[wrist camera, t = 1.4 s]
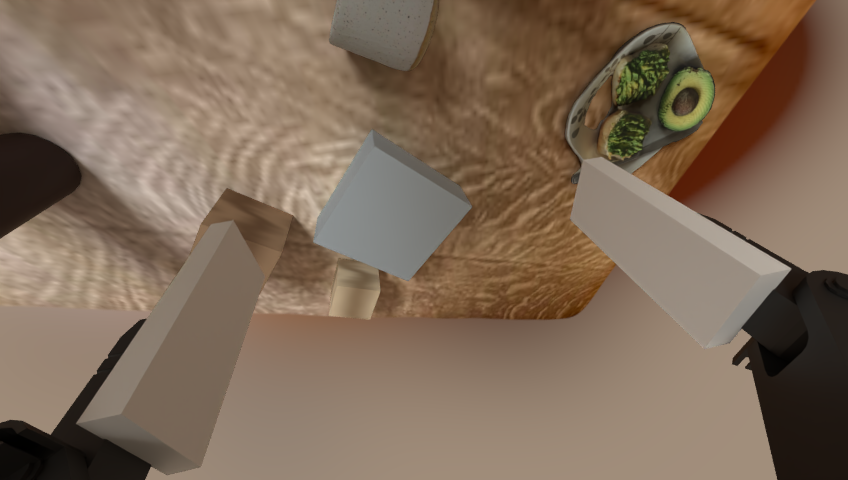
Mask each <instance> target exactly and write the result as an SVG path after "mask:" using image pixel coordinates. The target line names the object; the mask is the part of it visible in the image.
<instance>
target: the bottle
mask: <svg viewBox="0 0 848 480" xmlns="http://www.w3.org/2000/svg"><path fill="white" fill-rule="evenodd" d="M80 181H81V174H80V171H79V168H78V166H77V165H76V163H75V162H74V160H73V159H72V158H71V157H70V156H69V155H68V154H67V153H66V152H64V151H63V150H62V149H61V148H59V147H58V146H56V145H54V144H53V143H51V142H49V141H47V140H45V139H42V138H39V137H37V136H34V135H29V134H23V133H10V134H3V135H0V238H2V237H3V236H5V235H7V234H8V233H10V232H11V231H13V230H14V229H16V228H17V227H19V226H21V225H22V224H24V223H25V222H27V221H28V220H30V219H31V218H33V217H35V216H36V215H38V214H39V213H41V212H42V211H44V210H46V209H47V208H49V207H50V206H52V205H53V204H55V203H56V202H58V201H60V200H61V199H63V198H64V197H66V196H67V195H69V194H70V193H72V192H74V191H75V190H76V188H77V187H78V186H79V185H80Z"/></svg>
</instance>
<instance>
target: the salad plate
mask: <svg viewBox="0 0 848 480" xmlns="http://www.w3.org/2000/svg"><path fill="white" fill-rule="evenodd" d="M611 75H613V79H612V82H611V85H612V107H611V108H610V110H609V112H608V114H607V116H606V118H605V119H604V120H601V122H600V123H599V126H598V127H597V129H595V130H593V129H590V128H588V127H587V126H585V125H584V123H585V116H586V113H587V110H588V108H589V105H590V102H591V101H592V99H593V97H594V96H595V94H596V92H597V91H598V89H599V88H600V87H601V86H602V85H603V83H604V82H605V81H606V80H607V79H608V78H609V77H610V76H611ZM714 96H715V84H714V80H713V78H712V76H711V73H710V72H709V71H708V70H704V68H703V66H702V64H701V61H700V59H699V56H698V54H697V53H696V49H695V47H694V45H693V42H692V40H691V37H690V35H689V34H688V32H687V31H686V28H685V27H684V26H683V25H682V24H679V23H675V22H671V23H663V24H658V25H655V26H652V27H649V28H647V29H645V30H643V31H641V32H640V33H639V34H637V35H636V36H634V37H633V38H631V39H630V40H629V41H627V42H626V43H625V44H624V45H623V46H622V47H620V49H619V50H618V51H617V52H616V53H615V55H614V57H613V58H612V59H611V61H610V62H609V63H608V64H607V65H606V66H605V67H604V68H603V69H602V70H601V71H600V72H599V73H598V74H597V75H596V76H595V77H594V78H593V80H592V81H591V82H590V83H589V85H588V86H587V87H586V89H585V90H584V92H583V93H582V94H581V95H580V97H579V98H578V99H577V100H576V101H575V102H574V104H573V106H572V109H571V111H570V113H569V115H568V119H567V123H566V130H565V138H566V140H567V142H568V144H569V145H570V146H571V148H572V150H573V151H574V153H575V154H576V155H577V156H578V157H579V159H580V161H581V168H582V163H583V160H586V159H592V158H598V157H603V158H604V159H606V160H608V161H610V162H611V163H613V164H615V165H616V166H618V167H620V168H621V169H623V170H625V171H627V172H628V173H630V174H631V173H633V172H634V171H635V170H636V169H638V168H639V167H640V166H642V165H643V164H644V163H645V162H646V161H647V160H649V159H650V158H651V157H652V156H653V155H654V154H656V153H657V152H658V151H659V150H660V149H661V148H662V147H663V146H666V145H668V144H670V143H671V142H676V141H679V140H681V139H683V138H685V137H687V136H689V135H690V134H692V133H694V132H695V131H697V130H698V128H699V127H700V125H701V124H702V123H703V121H702V120H703V119H704V118H705V116H706V115H707V114H708V112H709V111H710V109H711V107H712V104H713V101H714ZM581 168H580V169H579V170H578V171H577V172H576V173H574V174H573V176H572V178H571V182H572V183H573V184H577V183H578V181H579V177H580V172H581Z"/></svg>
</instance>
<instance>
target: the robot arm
mask: <svg viewBox="0 0 848 480" xmlns="http://www.w3.org/2000/svg"><path fill="white" fill-rule="evenodd" d="M570 220H571V221H572V222H573V223H574V224H575V225H576V226H577V227H578V228H579V229H580V230H582V231H583V232H584V233H585V234H586V235H587V236H588V237H589V238H590V239H591V240H592V241H593V242H594V243H595V244H596V245H597V246H598V247H599V248H600V249H601V250H602V251H603V252H604V253H605V254H606V255H607V256H608V257H609V258H611V259H612V260H613V261H614V262H615V263H616V264H617V265H618V266H619V267H620V268H621V269H622V270H623V271H624V272H625V273H626V274H627V275H628V276H629V277H630V278H631V279H632V280H633V281H634V282H635V283H636V284H637V285H639V287H641V288H642V289H643V290H644V291H645V292H646V293H647V294H648V295H649V296H650V297H651V298H652V299H653V300H654V301H655V302H656V303H657V304H658V305H659V306H660V307H661V308H662V309H663V310H664V311H665V312H667V313H668V315H670V316H671V317H672V318H673V319H674V320H675V321H676V322H677V323H678V324H679V325H680V326H681V327H682V328H683V329H684V330H685V331H686V332H687V333H688V334H689V335H690V336H691V337H692V338H694V340H696V342H697V343H699V344H700V345H701V346H702V347H703V348H704V349H706V348H711V347H715V346H719V345H724V344H727V343H730V342H731V341H732V340H733V338H734V337H735V336H736V335H737V334H738V332H739V331H740V330H741V329H743V330H744V331H746V332H747V333H748V334H750V335H751V336H752V337H751V338H750V340H749V341H748V342H747V343H746V344H745V345H744V346H743V347H742V348H741V350H740V351H739V352H738V353H737V354H736V355H735V356H734V357H733V361H732V364H733V365H736V366H737V365H739V364H740V363H741V361H742V360H743V359H744V358H745V357H749V360H750V362H749V363H748V364H747V366H746V367H745V368H746V369H749V370H752V373H753V377H754V381H755V386H756V390H757V394H758V399H759V402H760V407H761V411H762V415H763V420H764V424H765V429H766V433H767V437H768V441H769V445H770V450H771V454H772V458H773V463H774V467H775V471H776V476H777V480H848V275H847V274H843V273H839V272H833V271H825V270H821V271H812V272H811V273H808V272H806V271H804V270H802V269H800V268H799V267H797V266H795V265H794V264H792V263H790V262H788V261H786V260H785V259H783V258H781V257H779V256H778V255H776V254H774V253H773V252H771V251H769V250H767V249H766V248H764V247H762V246H761V245H759V244H757V243H755V242H753V241H752V240H750V239H749V240H747V239H746V237H745V236H743V235H741V234H740V233H738V232H736V231H732V229H731V228H729V227H727V226H726V225H724V224H722V223H721V222H719V221H717V220H715V219H713V218H710V217H708V216H704V215H702V214H699V213H696V212H695V211H693V210H691V209H689V208H688V207H686V206H684V205H683V204H681V203H679V202H677V201H676V200H674V199H672V198H671V197H669V196H667V195H666V194H664V193H662V192H661V191H659V190H657V189H655V188H654V187H652V186H650V185H649V184H647V183H645V182H644V181H642V180H640V179H638V178H637V177H635V176H633V175H632V174H630V173H628V172H627V171H625V170H623V169H621V168H620V167H618V166H616V165H615V164H613V163H611V162H610V161H608V160H606V159H604V158H603V157H598V158H592V159H586V160H583V163H582V168H581V172H580V177H579V181H578V185H577V190H576V194H575V199H574V203H573V208H572V212H571V217H570ZM264 279H265V276H264V274H263V272H262V270H261V268H260V267H259V265H258V263H257V261H256V260H255V258H254V256H253V254H252V252H251V251H250V249H249V247H248V245H247V244H246V242H245V240H244V238H243V236H242V235H241V233H240V231H239V229H238V227H237V226H236V224H235V222H234V220H232V221H227V222H221V223H215V224H211V225H210V226H209V228H208V229H207V231H206V232H205V234H204V235H203V237H202V238H201V240H200V241H199V243H198V244H197V245H196V247H195V248H194V250H193V251H192V253H191V254H190V256H189V257H188V259H187V260H186V262H185V263H184V265H183V266H182V268H181V269H180V271H179V272H178V274H177V275H176V277H175V278H174V279H173V281H172V282H171V284H170V285H169V287H168V288H167V290H166V291H165V293H164V294H163V296H162V297H161V299H160V300H159V302H158V303H157V305H156V306H155V308H154V309H153V311H152V312H151V313H150V315H149V317H148V318H147V319H142V320H140V321H138V322H137V323H136V324H135V325H134V326H133V327H132V328H130V329H129V330H128V331H127V332H126V333H125V334H124V335H123V336H122V337H121V338H120V339H119V341H118V342H117V343H116V345H115V346H114V348H113V349H112V350H111V352H110V353H109V354H108V359H105V360H104V361H103V363H102V364H101V366H100V367H99V368H98V370H97V374H96V375H93V377H92V378H91V379H90V381H89V382H88V384H87V385H86V387H85V388H84V389H83V391H82V392H81V393H80V395H79V396H78V398H77V399H76V400H75V402H74V403H73V405H72V406H71V407H70V409H69V410H68V411H67V413H66V414H65V416H64V417H63V418H62V420H61V421H60V423H59V424H58V425H57V427H56V428H55V429H54V431H53V432H52V434H51V435H49V434H47V433H45V432H43V431H41V430H39V429H37V428H35V427H33V426H31V425H30V424H28V423H26V422H23V421H18V420H9V421H6V422H2V423H0V480H145V479H146V476H147V474H148V472H149V470H150V467H153V468H155V469H157V470H159V471H160V472H162V473H164V474H166V475H170V474H174V473H178V472H182V471H186V470H191V469H195V468H199V467H201V465H202V462H203V459H204V456H205V453H206V450H207V447H208V445H209V441H210V439H211V436H212V433H213V430H214V427H215V424H216V421H217V418H218V415H219V412H220V409H221V406H222V403H223V400H224V397H225V394H226V391H227V388H228V385H229V382H230V379H231V377H232V374H233V371H234V368H235V365H236V362H237V358H238V356H239V353H240V350H241V347H242V344H243V341H244V338H245V335H246V332H247V329H248V326H249V323H250V320H251V317H252V314H253V311H254V308H255V305H256V303H257V300H258V297H259V294H260V291H261V288H262V285H263V282H264Z"/></svg>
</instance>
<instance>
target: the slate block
mask: <svg viewBox="0 0 848 480" xmlns="http://www.w3.org/2000/svg"><path fill="white" fill-rule="evenodd" d="M471 208H472V205H471V203H470V202H469V200H468V198H467V197H466V195H465V193H464V192H463V190H462V188H461V187H460V186H459V185H458V184H456V183H454V182H453V181H451V180H450V179H448V178H447V177H445V176H444V175H442V174H440V173H439V172H437V171H436V170H434V169H433V168H431V167H430V166H428V165H427V164H425V163H423V162H422V161H420V160H419V159H417V158H416V157H414V156H413V155H411V154H410V153H408V152H406V151H405V150H403V149H402V148H400V147H399V146H397V145H396V144H394V143H392V142H391V141H389V140H388V139H386V138H385V137H383V136H382V135H380V134H379V133H377V132H375V131H374V130H371V131H370V133H369V135H368V136H367V138H366V139H365V141H364V143H363V144H362V146H361V148H360V149H359V151H358V153H357V154H356V156H355V157H354V159H353V161H352V162H351V164H350V166H349V167H348V169H347V171H346V172H345V174H344V175H343V177H342V179H341V180H340V182H339V184H338V185H337V187H336V188H335V190H334V192H333V193H332V195H331V197H330V198H329V200H328V202H327V203H326V205H325V206H324V208H323V210H322V211H321V213H320V215H319V216H318V219H317V224H316V230H315V235H314V241H313V243H316V244H318V245H321V246H323V247H325V248H328V249H330V250H333V251H335V252H338V253H340V254H343V255H345V256H348V257H350V258H352V259H355V260H357V261H360V262H362V263H365V264H367V265H370V266H372V267H374V268H377V269H379V270H382V271H384V272H387V273H389V274H392V275H394V276H396V277H399V278H401V279H404V280H406V281H409V280H410V279H411V278H412V276H413V275H414V274H415V273H416V272H417V271H418V269H419V268H420V267H421V266H422V265H423V264H424V262H425V261H426V260H427V259H428V258H429V257H430V255H431V254H432V253H433V252H434V251H435V250H436V249H437V247H438V246H439V245H440V244H441V243H442V242H443V240H444V239H445V238H446V237H447V236H448V235H449V233H450V232H451V231H452V230H453V229H454V228H455V226H456V225H457V224H458V223H459V222H460V221H461V220H462V218H463V217H464V216H465V215H466V214H467V213H468V211H469V210H470V209H471Z"/></svg>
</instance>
